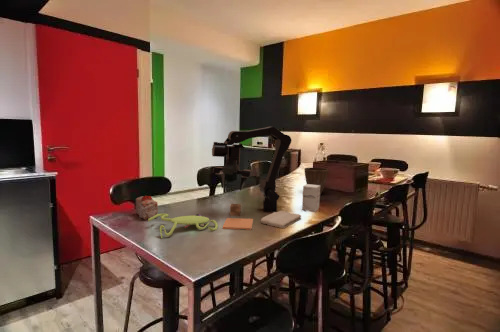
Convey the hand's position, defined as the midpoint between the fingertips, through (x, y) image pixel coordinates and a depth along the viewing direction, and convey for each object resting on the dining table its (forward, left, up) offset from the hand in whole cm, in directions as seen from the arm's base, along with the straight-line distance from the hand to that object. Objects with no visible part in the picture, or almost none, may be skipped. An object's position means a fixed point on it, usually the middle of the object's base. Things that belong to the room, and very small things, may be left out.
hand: (231, 189), depth 143 cm
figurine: (+18, +23, -13) cm, 32 cm away
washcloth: (-24, +10, -13) cm, 29 cm away
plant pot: (-48, -48, -12) cm, 69 cm away
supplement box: (-40, -11, -12) cm, 43 cm away
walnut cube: (-2, +2, -12) cm, 12 cm away
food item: (+39, +10, -12) cm, 42 cm away
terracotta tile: (-5, +17, -12) cm, 21 cm away
